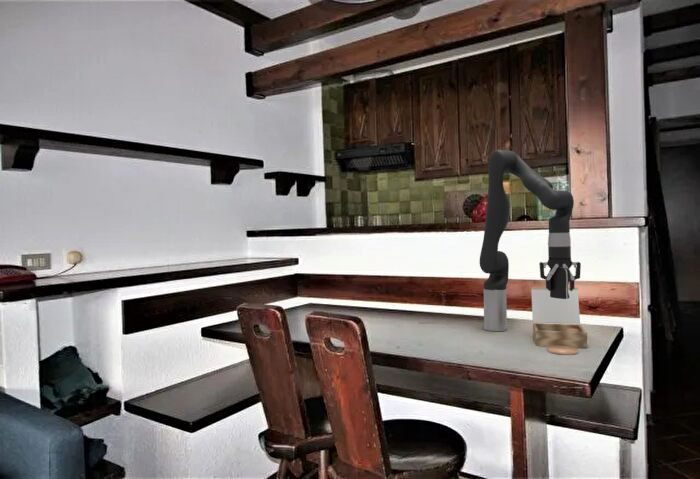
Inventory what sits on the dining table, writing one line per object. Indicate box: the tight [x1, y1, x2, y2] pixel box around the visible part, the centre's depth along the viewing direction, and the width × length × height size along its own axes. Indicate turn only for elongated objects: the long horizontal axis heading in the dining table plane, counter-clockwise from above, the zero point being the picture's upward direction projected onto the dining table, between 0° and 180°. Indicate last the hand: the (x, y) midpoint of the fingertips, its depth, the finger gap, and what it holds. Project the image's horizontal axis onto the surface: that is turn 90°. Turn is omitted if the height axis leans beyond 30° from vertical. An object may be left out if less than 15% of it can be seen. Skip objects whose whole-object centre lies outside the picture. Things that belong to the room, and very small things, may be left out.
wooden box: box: [532, 322, 588, 349], centre depth 180 cm, size 17×14×6 cm
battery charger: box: [549, 267, 571, 299], centre depth 176 cm, size 7×4×11 cm, turn 29°
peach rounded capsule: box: [567, 328, 578, 332], centre depth 182 cm, size 4×4×4 cm
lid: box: [530, 286, 581, 325], centre depth 189 cm, size 17×14×1 cm
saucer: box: [546, 345, 579, 356], centre depth 168 cm, size 10×10×1 cm
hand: (560, 290), depth 176 cm, fingers closed on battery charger, 7 cm apart
